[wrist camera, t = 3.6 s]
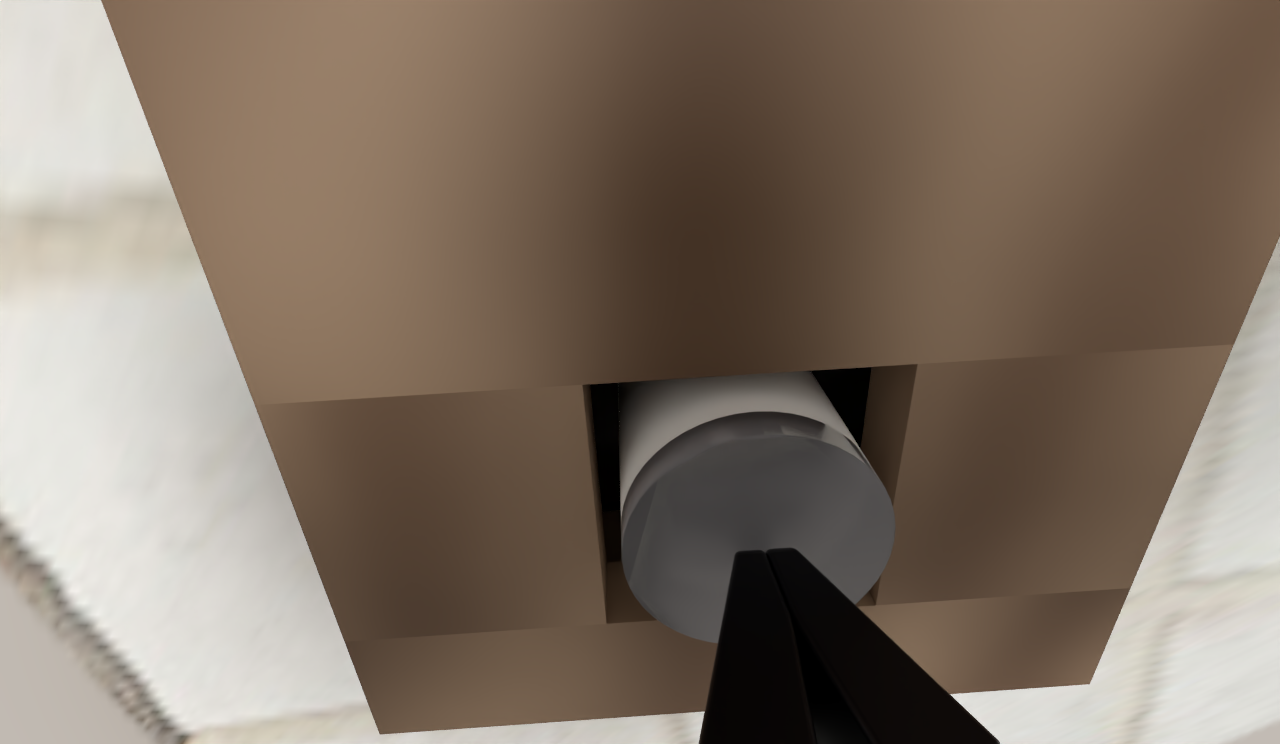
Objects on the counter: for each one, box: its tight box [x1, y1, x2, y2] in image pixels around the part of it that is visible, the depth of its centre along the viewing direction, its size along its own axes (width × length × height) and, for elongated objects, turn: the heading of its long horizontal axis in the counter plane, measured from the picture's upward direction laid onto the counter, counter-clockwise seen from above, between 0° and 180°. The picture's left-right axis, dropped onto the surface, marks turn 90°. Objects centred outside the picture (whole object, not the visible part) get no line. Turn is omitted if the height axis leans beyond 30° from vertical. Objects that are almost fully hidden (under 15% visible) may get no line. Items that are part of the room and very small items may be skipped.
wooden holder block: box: [101, 0, 1280, 734], centre depth 9 cm, size 14×22×5 cm, turn 3°
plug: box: [618, 371, 896, 643], centre depth 12 cm, size 4×4×6 cm
